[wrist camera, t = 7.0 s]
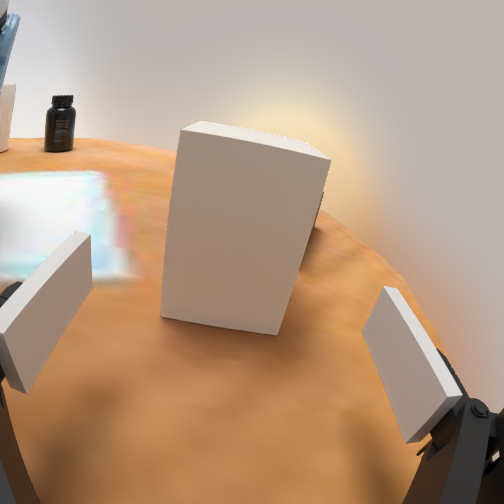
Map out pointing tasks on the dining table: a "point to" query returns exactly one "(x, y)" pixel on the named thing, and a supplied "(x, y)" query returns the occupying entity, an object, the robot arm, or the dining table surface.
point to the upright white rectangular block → (238, 225)
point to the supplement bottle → (60, 124)
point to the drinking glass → (6, 114)
